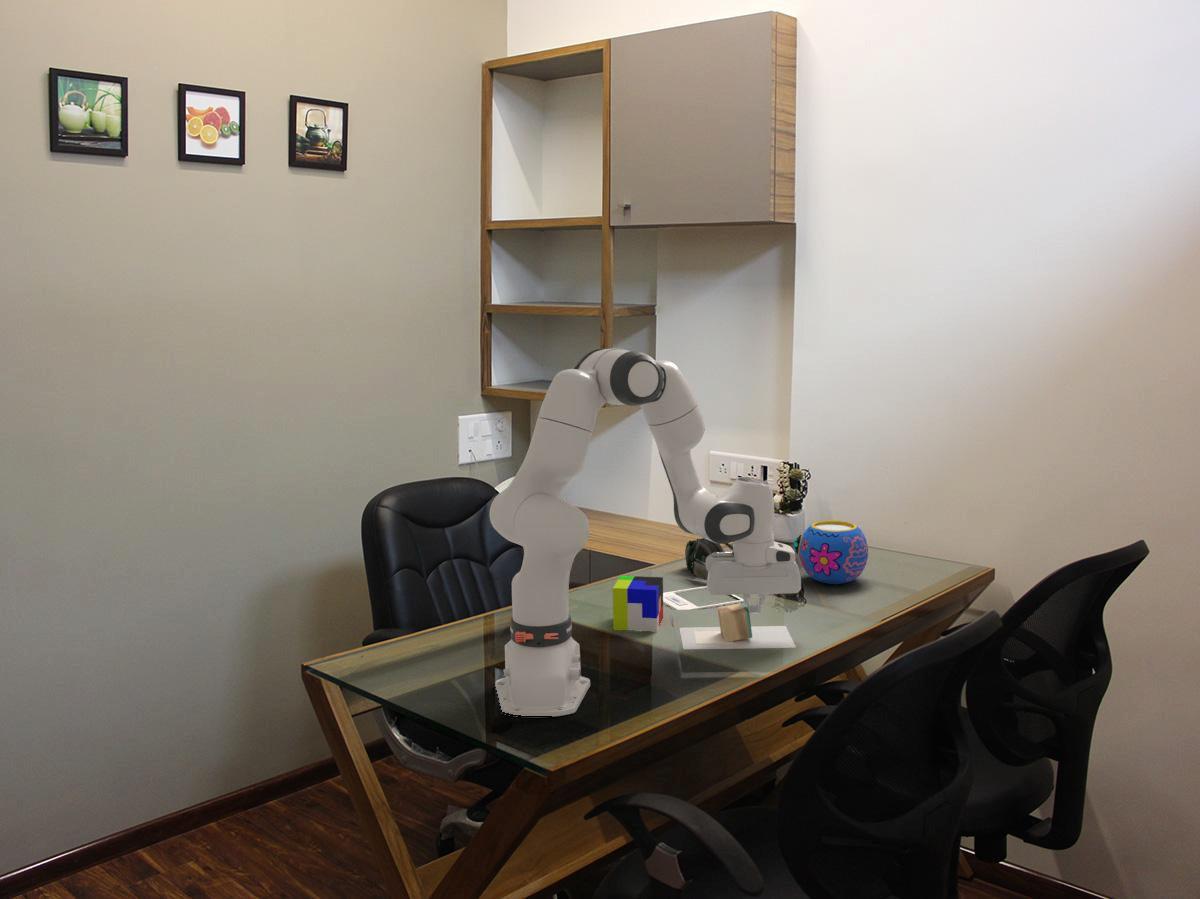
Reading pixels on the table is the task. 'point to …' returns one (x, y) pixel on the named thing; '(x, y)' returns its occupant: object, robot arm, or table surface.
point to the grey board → (714, 640)
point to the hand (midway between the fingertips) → (753, 612)
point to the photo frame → (683, 604)
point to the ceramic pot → (832, 551)
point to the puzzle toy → (638, 603)
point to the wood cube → (734, 622)
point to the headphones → (700, 555)
